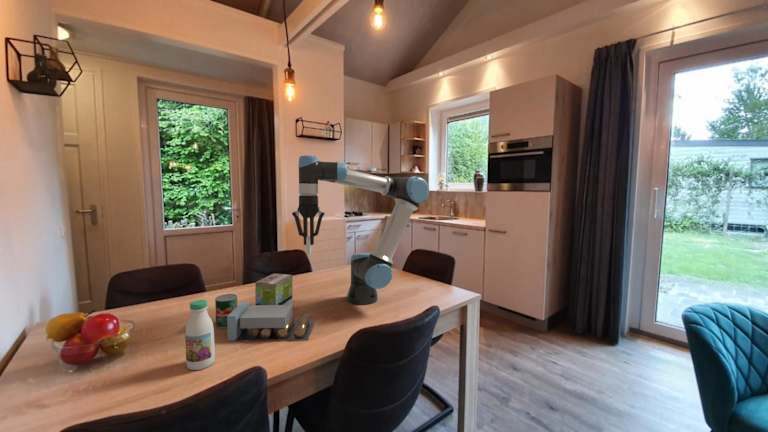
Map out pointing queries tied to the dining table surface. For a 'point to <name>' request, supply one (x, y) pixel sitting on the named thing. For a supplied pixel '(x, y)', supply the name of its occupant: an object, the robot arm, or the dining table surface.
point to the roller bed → (274, 334)
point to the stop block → (236, 321)
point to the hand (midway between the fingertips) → (308, 252)
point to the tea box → (274, 290)
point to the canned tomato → (224, 308)
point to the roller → (255, 331)
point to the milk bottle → (199, 337)
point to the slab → (266, 316)
